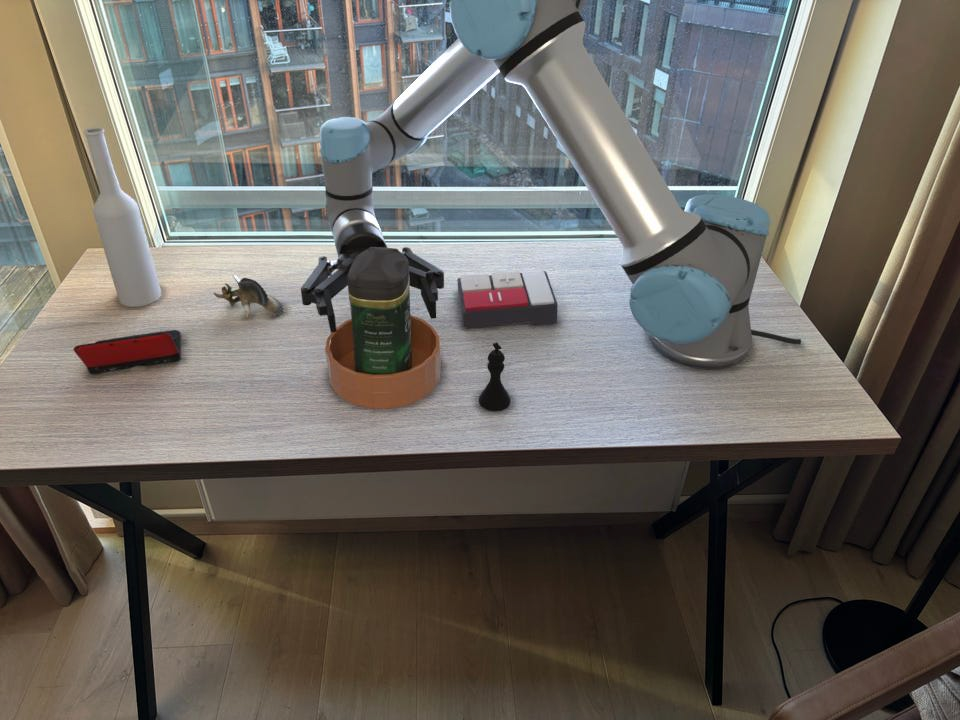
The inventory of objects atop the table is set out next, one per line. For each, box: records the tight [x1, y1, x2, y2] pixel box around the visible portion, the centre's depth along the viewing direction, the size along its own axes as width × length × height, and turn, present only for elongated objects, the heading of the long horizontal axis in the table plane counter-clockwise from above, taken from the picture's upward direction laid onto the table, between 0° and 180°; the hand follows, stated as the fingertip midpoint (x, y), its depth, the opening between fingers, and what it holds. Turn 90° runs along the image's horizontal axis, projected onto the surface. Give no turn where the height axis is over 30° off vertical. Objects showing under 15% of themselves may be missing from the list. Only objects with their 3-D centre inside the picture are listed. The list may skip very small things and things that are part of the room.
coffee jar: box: [347, 247, 412, 375], centre depth 106 cm, size 10×8×19 cm
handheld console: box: [73, 329, 182, 375], centre depth 111 cm, size 12×11×7 cm
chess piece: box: [478, 342, 511, 412], centre depth 104 cm, size 4×4×10 cm
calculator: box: [457, 269, 558, 329], centre depth 125 cm, size 11×4×15 cm
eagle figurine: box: [213, 274, 285, 319], centre depth 123 cm, size 8×7×9 cm
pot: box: [324, 314, 442, 410], centre depth 110 cm, size 16×16×6 cm
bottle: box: [83, 126, 162, 308], centre depth 119 cm, size 7×7×28 cm
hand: (383, 317), depth 103 cm, fingers open, 13 cm apart
